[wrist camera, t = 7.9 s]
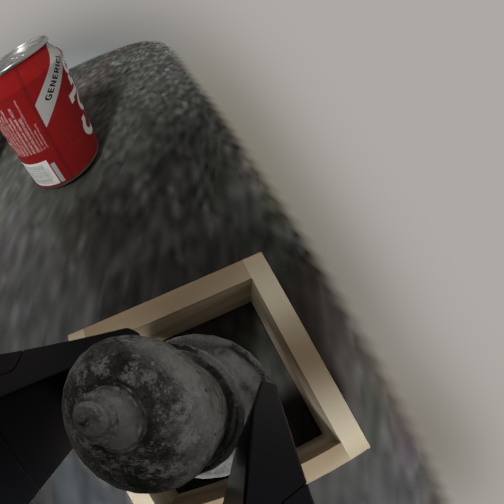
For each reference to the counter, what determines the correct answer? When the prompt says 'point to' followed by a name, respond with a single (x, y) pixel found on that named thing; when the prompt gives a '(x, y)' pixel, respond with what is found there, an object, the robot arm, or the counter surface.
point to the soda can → (44, 114)
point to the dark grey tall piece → (159, 408)
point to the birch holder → (285, 341)
